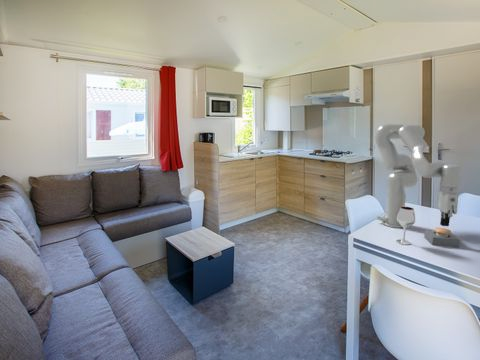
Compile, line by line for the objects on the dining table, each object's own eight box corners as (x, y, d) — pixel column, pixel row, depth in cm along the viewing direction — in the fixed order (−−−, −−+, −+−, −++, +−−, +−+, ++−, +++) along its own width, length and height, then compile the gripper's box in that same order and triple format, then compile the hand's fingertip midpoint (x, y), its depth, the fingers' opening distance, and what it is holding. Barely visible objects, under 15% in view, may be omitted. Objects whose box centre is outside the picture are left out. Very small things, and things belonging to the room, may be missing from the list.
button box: (432, 244, 147) (433, 237, 146) (424, 237, 157) (425, 230, 156) (459, 247, 145) (460, 239, 144) (449, 239, 154) (450, 232, 153)
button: (436, 241, 148) (438, 231, 147) (431, 236, 154) (432, 227, 153) (452, 242, 146) (453, 232, 145) (445, 237, 153) (447, 228, 152)
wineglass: (390, 239, 154) (394, 206, 150) (405, 239, 154) (409, 205, 151) (400, 245, 146) (404, 210, 142) (416, 245, 146) (420, 210, 143)
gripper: (465, 193, 137) (460, 231, 140) (450, 187, 152) (445, 221, 155) (447, 192, 139) (442, 230, 142) (433, 186, 153) (429, 220, 156)
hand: (444, 225), depth 148 cm, fingers closed
